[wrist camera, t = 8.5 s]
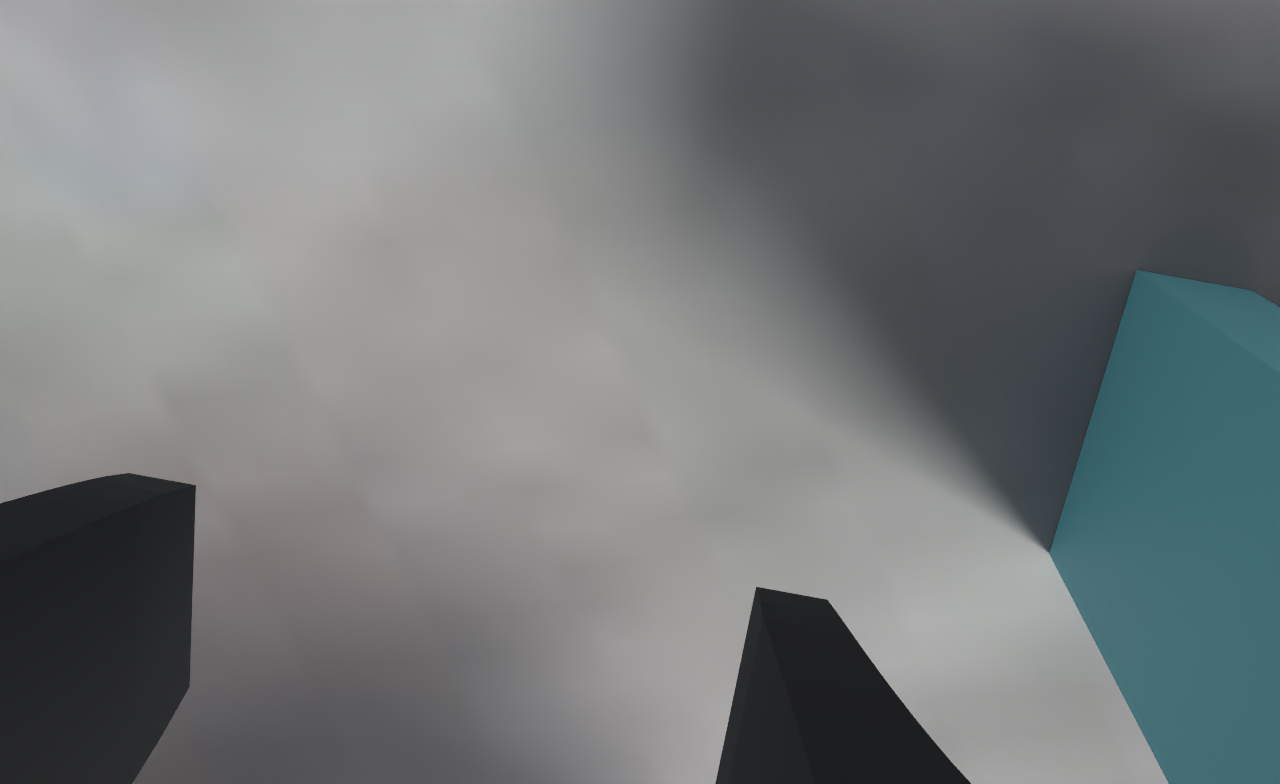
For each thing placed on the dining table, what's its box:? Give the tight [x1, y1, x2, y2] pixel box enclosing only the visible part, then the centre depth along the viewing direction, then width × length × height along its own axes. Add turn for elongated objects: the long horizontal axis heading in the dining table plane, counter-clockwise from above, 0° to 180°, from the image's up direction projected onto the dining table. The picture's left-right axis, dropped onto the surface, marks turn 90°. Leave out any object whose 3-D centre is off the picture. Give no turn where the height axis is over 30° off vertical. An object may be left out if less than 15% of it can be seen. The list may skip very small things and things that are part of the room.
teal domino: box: [1049, 270, 1280, 784], centre depth 15 cm, size 2×5×9 cm, turn 171°
